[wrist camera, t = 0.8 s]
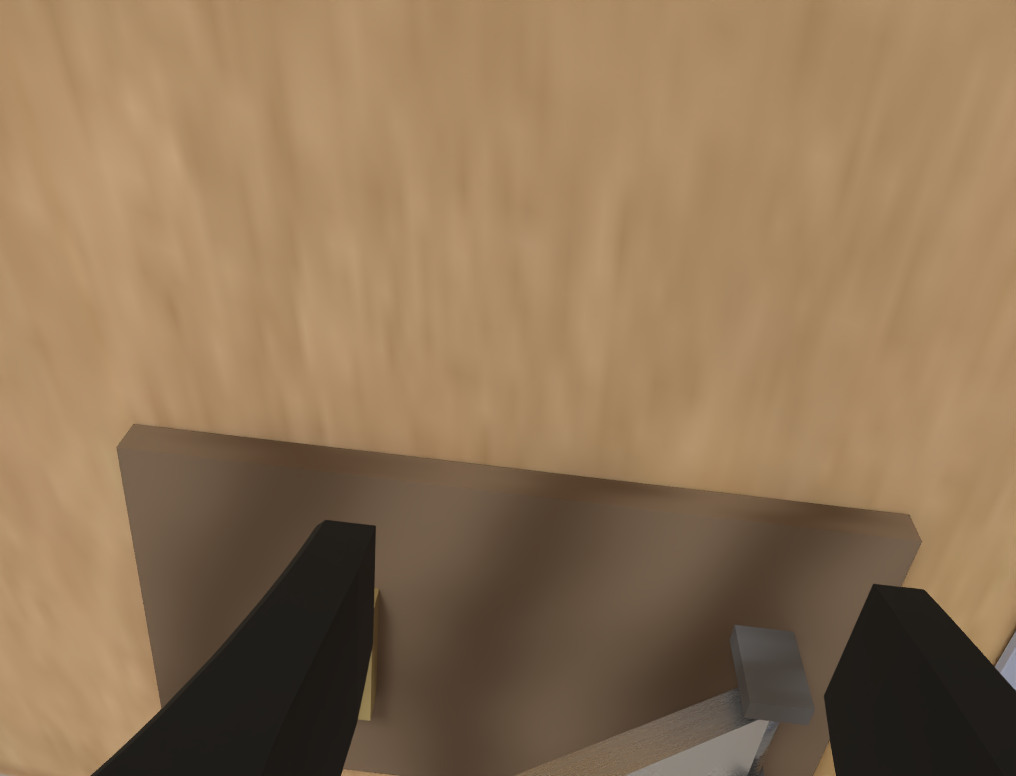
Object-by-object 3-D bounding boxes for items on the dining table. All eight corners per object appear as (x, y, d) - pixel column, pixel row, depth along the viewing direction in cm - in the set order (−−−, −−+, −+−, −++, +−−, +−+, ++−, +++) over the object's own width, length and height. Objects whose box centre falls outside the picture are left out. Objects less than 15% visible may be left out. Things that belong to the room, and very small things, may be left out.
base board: (909, 514, 23) (958, 617, 20) (785, 792, 29) (808, 901, 26) (133, 423, 23) (68, 513, 20) (180, 721, 29) (136, 822, 26)
